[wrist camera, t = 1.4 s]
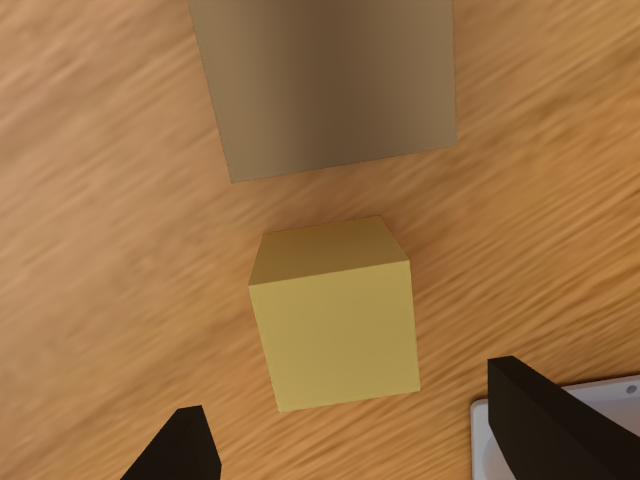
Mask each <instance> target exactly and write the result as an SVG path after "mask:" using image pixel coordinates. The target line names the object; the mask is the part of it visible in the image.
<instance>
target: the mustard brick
mask: <svg viewBox="0 0 640 480" xmlns="http://www.w3.org/2000/svg"><path fill="white" fill-rule="evenodd" d="M248 289H249V293H250V297H251V301H252V305H253V309H254V313H255V317H256V321H257V325H258V330H259V334H260V338H261V342H262V346H263V350H264V354H265V358H266V362H267V366H268V370H269V374H270V378H271V382H272V386H273V390H274V394H275V398H276V402H277V406H278V410H279V413H280V412H286V411H293V410H299V409H306V408H312V407H319V406H325V405H331V404H338V403H344V402H351V401H357V400H364V399H370V398H377V397H383V396H390V395H396V394H402V393H409V392H415V391H421V390H420V378H419V366H418V355H417V343H416V331H415V319H414V307H413V295H412V283H411V272H410V260H409V259H408V257H407V256H406V254H405V253H404V251H403V250H402V248H401V247H400V245H399V244H398V242H397V241H396V239H395V238H394V236H393V235H392V233H391V232H390V230H389V229H388V227H387V226H386V224H385V223H384V221H383V220H382V218H381V217H380V215H378V216H372V217H365V218H359V219H353V220H347V221H341V222H335V223H329V224H322V225H316V226H310V227H304V228H298V229H292V230H286V231H280V232H273V233H267V234H263V238H262V241H261V244H260V247H259V251H258V254H257V257H256V261H255V264H254V267H253V270H252V274H251V277H250V280H249V284H248Z"/></svg>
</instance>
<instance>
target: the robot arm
mask: <svg viewBox="0 0 640 480" xmlns="http://www.w3.org/2000/svg"><path fill="white" fill-rule="evenodd" d="M470 415H471V448H472V480H640V375H635V376H629V377H623V378H616V379H610V380H603V381H597V382H591V383H584V384H578V385H571V386H565V387H559V386H558V385H556V384H555V383H553V382H552V381H550V380H549V379H547V378H546V377H544V376H543V375H541V374H540V373H538V372H537V371H535V370H534V369H532V368H531V367H529V366H528V365H526V364H525V363H523V362H522V361H520V360H518V359H517V358H515V357H514V356H506V357H499V358H493V359H488V399H482V400H477V401H475V402H474V403H473V404H472V405H471V408H470ZM221 466H222V464H221V461H220V458H219V455H218V452H217V449H216V446H215V444H214V441H213V438H212V435H211V432H210V429H209V426H208V423H207V420H206V417H205V414H204V411H203V408H202V405H199V406H192V407H186V408H180V409H177V410H176V411H175V413H174V414H173V415H172V416H171V417H170V419H169V420H168V421H167V422H166V424H165V425H164V426H163V427H162V429H161V430H160V431H159V432H158V434H157V435H156V436H155V437H154V439H153V440H152V441H151V442H150V444H149V445H148V446H147V447H146V449H145V450H144V451H143V452H142V454H141V455H140V456H139V457H138V458H137V460H136V461H135V462H134V463H133V465H132V466H131V467H130V468H129V469H128V471H127V472H126V473H125V474H124V475H123V477H122V478H121V479H120V480H220V475H221Z"/></svg>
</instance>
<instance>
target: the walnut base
mask: <svg viewBox="0 0 640 480" xmlns="http://www.w3.org/2000/svg"><path fill="white" fill-rule="evenodd" d="M187 1H188V5H189V9H190V13H191V17H192V22H193V26H194V30H195V34H196V38H197V42H198V46H199V50H200V55H201V59H202V63H203V67H204V71H205V75H206V79H207V84H208V88H209V92H210V96H211V100H212V104H213V108H214V112H215V117H216V121H217V125H218V129H219V133H220V137H221V141H222V146H223V150H224V154H225V158H226V162H227V166H228V170H229V174H230V179H231V183H238V182H244V181H250V180H256V179H262V178H268V177H274V176H280V175H286V174H292V173H298V172H304V171H310V170H316V169H322V168H328V167H334V166H340V165H346V164H352V163H358V162H364V161H370V160H376V159H382V158H388V157H394V156H400V155H406V154H412V153H418V152H424V151H430V150H436V149H442V148H448V147H454V146H457V129H456V100H455V70H454V41H453V12H452V0H187Z"/></svg>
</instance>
